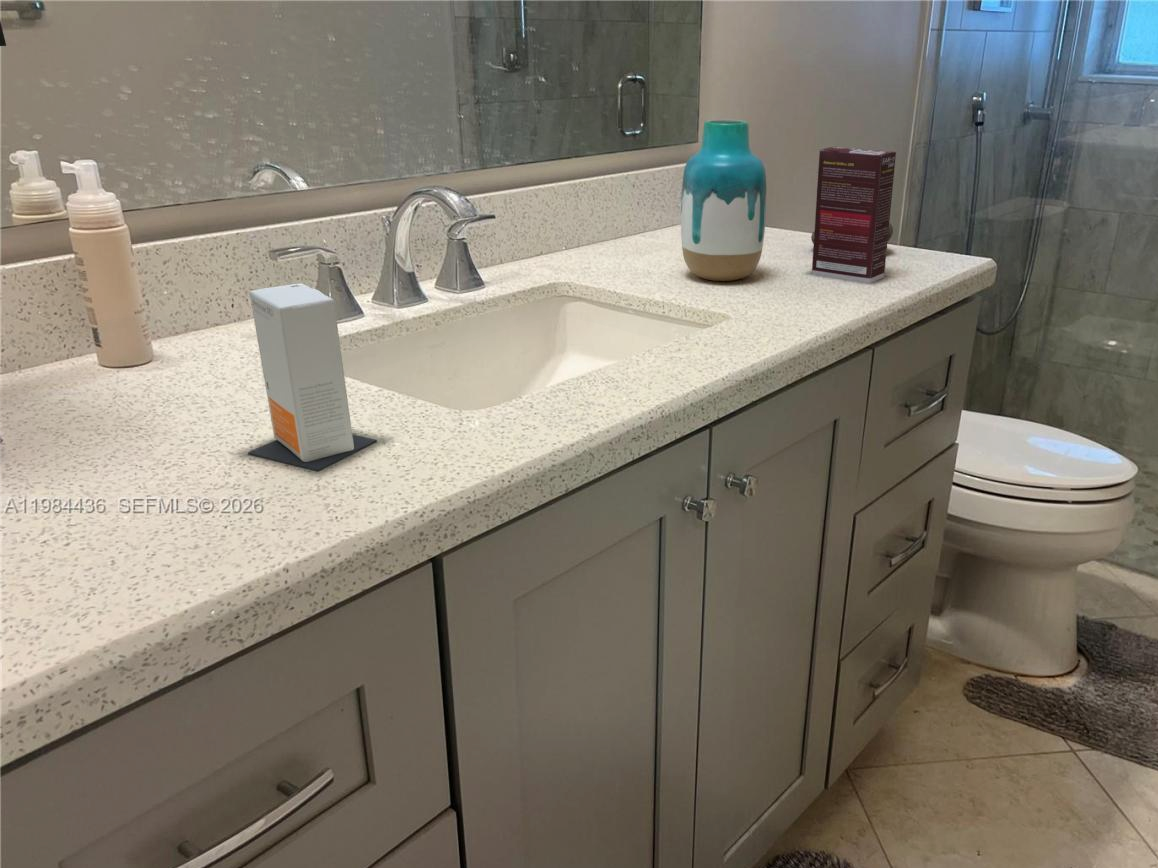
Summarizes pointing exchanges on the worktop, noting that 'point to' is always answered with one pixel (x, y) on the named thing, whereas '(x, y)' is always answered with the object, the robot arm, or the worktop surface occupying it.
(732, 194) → the vase
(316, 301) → the cosmetic box
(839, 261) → the supplement box
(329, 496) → the worktop surface
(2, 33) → the robot arm
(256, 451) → the mat
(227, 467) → the worktop surface
